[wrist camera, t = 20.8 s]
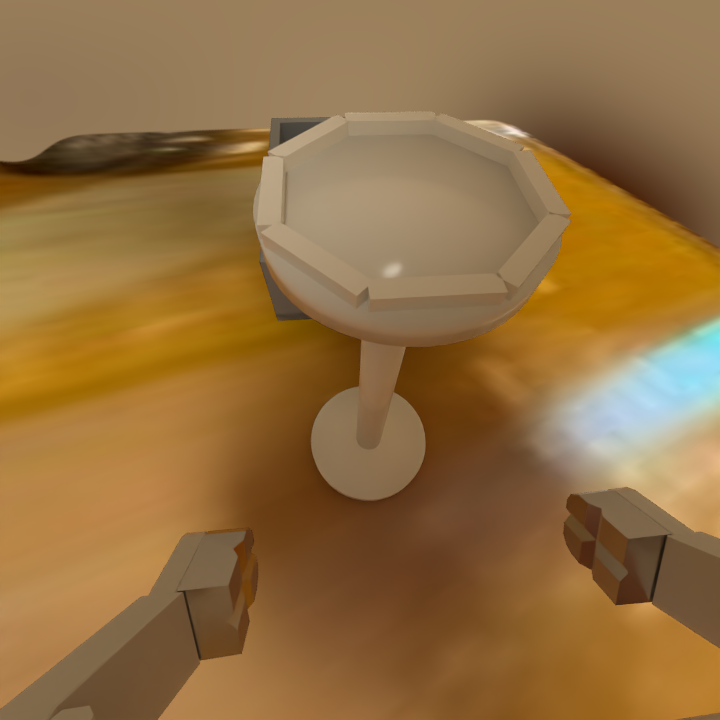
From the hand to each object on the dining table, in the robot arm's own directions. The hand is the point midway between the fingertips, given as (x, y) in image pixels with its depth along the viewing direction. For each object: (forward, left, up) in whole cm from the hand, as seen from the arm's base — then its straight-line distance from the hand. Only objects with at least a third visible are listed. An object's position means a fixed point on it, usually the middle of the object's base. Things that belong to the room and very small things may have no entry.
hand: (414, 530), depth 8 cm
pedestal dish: (0, +6, -11) cm, 13 cm away
